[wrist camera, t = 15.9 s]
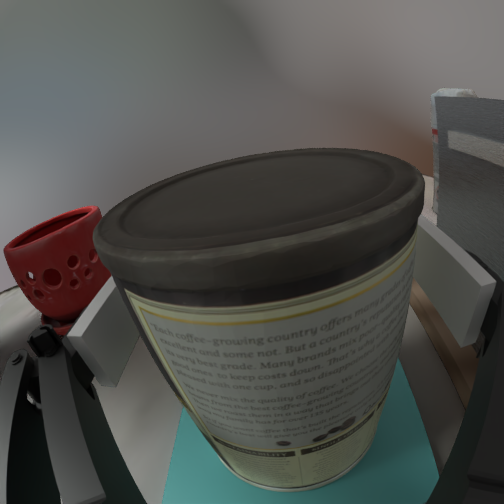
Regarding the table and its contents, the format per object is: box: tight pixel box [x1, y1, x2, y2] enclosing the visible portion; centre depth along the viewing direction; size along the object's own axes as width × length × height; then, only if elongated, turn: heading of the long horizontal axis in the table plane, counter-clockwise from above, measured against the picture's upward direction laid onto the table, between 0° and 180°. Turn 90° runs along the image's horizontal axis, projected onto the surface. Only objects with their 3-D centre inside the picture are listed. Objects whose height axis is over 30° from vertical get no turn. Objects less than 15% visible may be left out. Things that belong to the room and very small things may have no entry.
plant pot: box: [4, 206, 112, 335], centre depth 29 cm, size 13×13×12 cm
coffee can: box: [93, 148, 425, 492], centre depth 12 cm, size 10×10×14 cm
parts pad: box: [162, 358, 440, 504], centre depth 15 cm, size 15×15×1 cm
